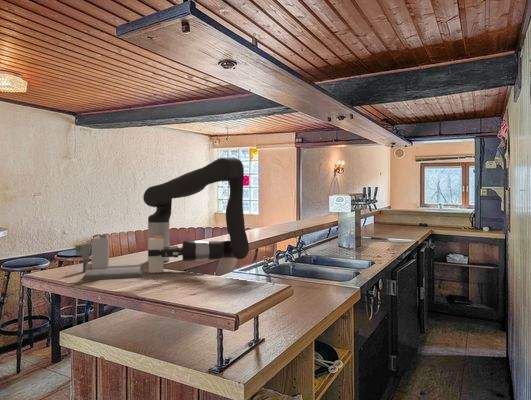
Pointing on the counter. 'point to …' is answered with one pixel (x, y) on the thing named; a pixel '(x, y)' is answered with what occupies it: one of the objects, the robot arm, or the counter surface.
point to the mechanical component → (84, 253)
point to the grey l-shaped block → (107, 263)
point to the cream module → (156, 261)
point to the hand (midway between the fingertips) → (148, 252)
